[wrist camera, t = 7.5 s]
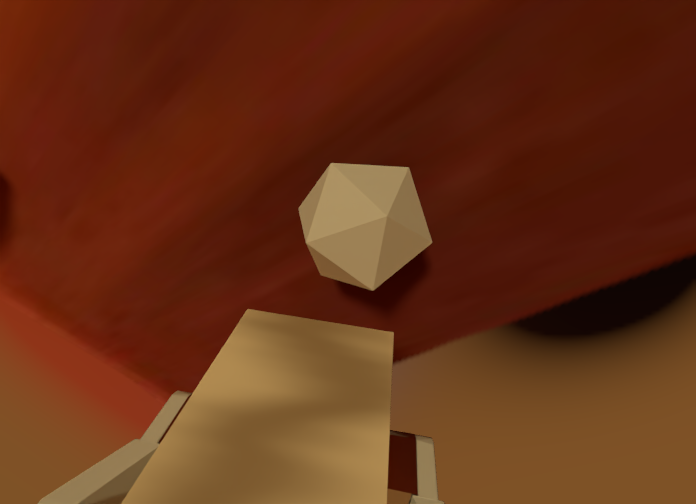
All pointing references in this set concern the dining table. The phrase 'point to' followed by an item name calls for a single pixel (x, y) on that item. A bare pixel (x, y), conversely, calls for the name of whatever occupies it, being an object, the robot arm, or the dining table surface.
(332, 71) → the dining table surface
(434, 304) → the dining table surface
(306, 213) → the die
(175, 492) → the beech block
